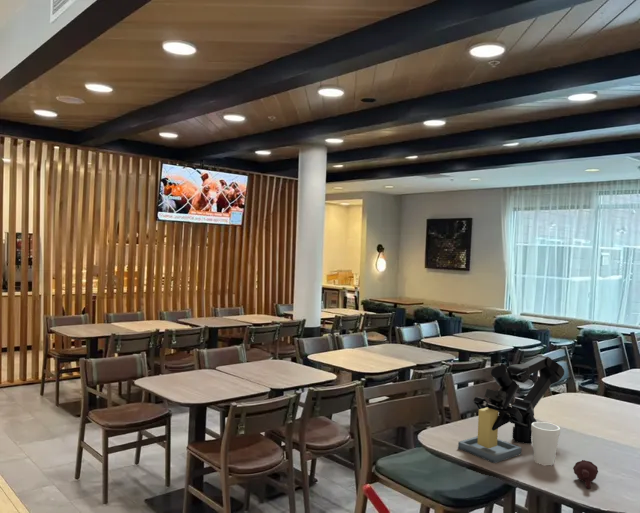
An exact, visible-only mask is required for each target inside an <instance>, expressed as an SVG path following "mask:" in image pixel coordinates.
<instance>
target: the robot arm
mask: <svg viewBox="0 0 640 513" xmlns="http://www.w3.org/2000/svg"><path fill="white" fill-rule="evenodd" d="M538 371H539V375H540V376H539V378H538V379H537V380H536V382H535V383H534V384H533V386H532V387H531V388H530V389H529V391H528V392H527V394H526V395H525V397H524V398H523V399H522V400H520V399H515V400H514V401H513V398H514V396H515V395H516V393H517V392H518V393H521V388H520V384H518V383H521V384H524V383H525V382H527V381H528V380H529V379H530V376H531V375H532V374H535V373H537V372H538ZM490 374H491V377H492V378H493V379H494V381H495V382H496V384H497V386H498V387H499V388H498V390H497V389H496V390H494V389H491V388H490V389H489V388H486V389H485V393H484V397H481V396H475V397H473V400H472V402H473V404H474V405H475V407H476V408H477V409H478V410H479V409H483V408H491V409H494V410H497V411H499V412H498V418H497V419H496V421H495V423H494V425H493V427H492V430H493V431H494V430H496V429H497V428H498V429H499V428H501V427H502V426H505V425H506V424H509V423H510V424H514V426H512V439H513V442H514V443H521V444H527V445H528V444H529V445H533V440H532V431H531V424H532V423H533V422H538V421H537V420H536V418H535V408H536V406H537V405H538V404H539V402H540V401H541V399H542V398H543V397H544V394H546V392H547V391H548V390H549V388H550V387H551V385H553V384H556V383H558V382H559V381H561V379H562V378H563V377H564V376H565V369H564V367H563V366H562V365H560V363H558V362H557V361H555V360H553V358H551V357H550V356H547V355H542V354H539V355H536V357H534V358H532V359H530V360H527V361H526V362H523V363H520V364H511V365H508V366H507V364H504V363H500V365H497V366H495V367H493V368H492V369H491V373H490ZM486 398H487V399H488V401H489V403H488V401H487V399H486ZM510 405H511V406H510Z"/></svg>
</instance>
